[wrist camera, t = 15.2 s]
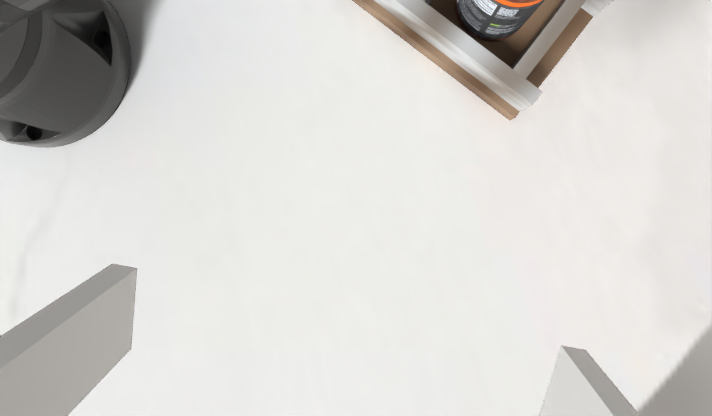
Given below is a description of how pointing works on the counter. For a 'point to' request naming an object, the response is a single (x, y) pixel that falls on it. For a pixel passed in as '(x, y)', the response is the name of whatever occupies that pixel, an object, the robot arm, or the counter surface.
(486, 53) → the wooden divided tray
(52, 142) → the robot arm
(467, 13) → the supplement bottle
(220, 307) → the counter surface
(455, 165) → the counter surface
